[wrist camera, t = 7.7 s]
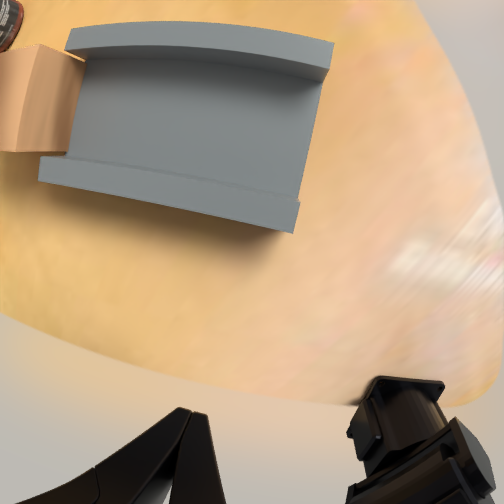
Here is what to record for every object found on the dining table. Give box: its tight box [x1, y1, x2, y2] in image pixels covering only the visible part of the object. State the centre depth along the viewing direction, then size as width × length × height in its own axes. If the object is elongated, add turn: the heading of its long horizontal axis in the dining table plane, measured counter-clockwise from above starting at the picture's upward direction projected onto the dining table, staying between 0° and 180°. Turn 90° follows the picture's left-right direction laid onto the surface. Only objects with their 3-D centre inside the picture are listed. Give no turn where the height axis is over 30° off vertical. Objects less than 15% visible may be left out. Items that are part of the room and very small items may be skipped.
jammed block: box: [0, 44, 87, 152], centre depth 14 cm, size 6×6×5 cm
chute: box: [38, 21, 334, 234], centre depth 15 cm, size 15×10×4 cm, turn 78°
